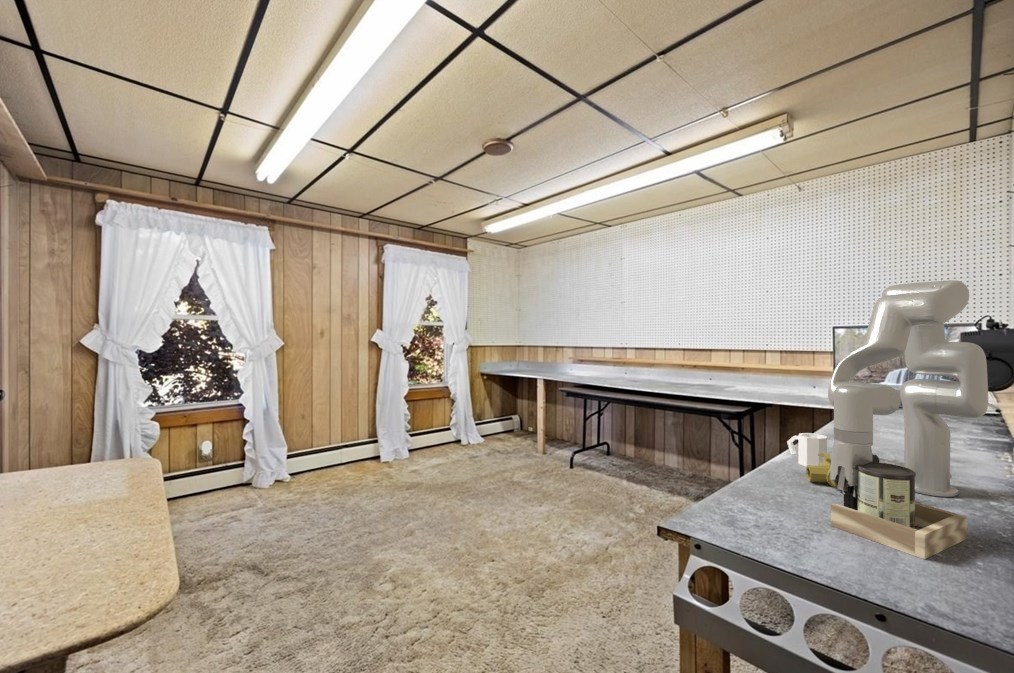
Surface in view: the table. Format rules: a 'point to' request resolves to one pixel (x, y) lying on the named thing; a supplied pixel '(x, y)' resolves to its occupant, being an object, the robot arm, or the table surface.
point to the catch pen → (905, 529)
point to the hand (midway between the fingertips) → (852, 511)
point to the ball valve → (821, 471)
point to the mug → (809, 448)
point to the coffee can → (887, 492)
